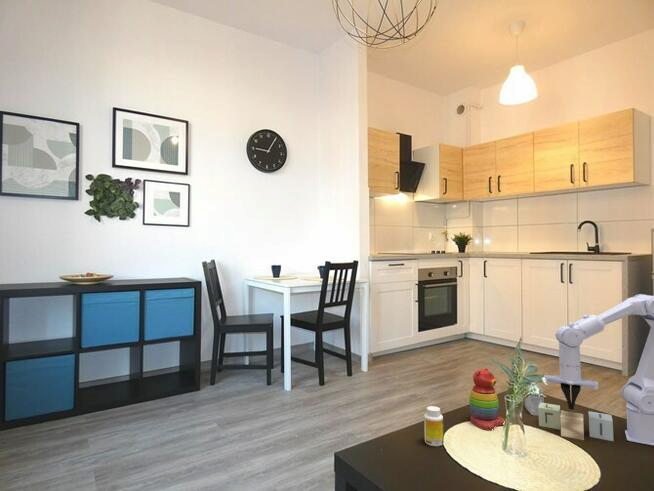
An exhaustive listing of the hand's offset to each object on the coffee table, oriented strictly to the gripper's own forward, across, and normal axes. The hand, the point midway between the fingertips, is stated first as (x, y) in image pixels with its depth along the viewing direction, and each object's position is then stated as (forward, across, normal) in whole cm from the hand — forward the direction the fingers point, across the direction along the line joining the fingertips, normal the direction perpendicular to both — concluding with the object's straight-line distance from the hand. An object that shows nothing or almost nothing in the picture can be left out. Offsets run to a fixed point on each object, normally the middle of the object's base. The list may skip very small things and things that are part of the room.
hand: (571, 408), depth 123 cm
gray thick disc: (+8, -12, +15) cm, 21 cm away
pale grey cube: (+8, +8, +4) cm, 12 cm away
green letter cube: (+8, -6, +5) cm, 11 cm away
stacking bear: (+8, -25, -5) cm, 27 cm away
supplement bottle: (+8, -35, -29) cm, 46 cm away
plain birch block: (+8, 0, 0) cm, 8 cm away
